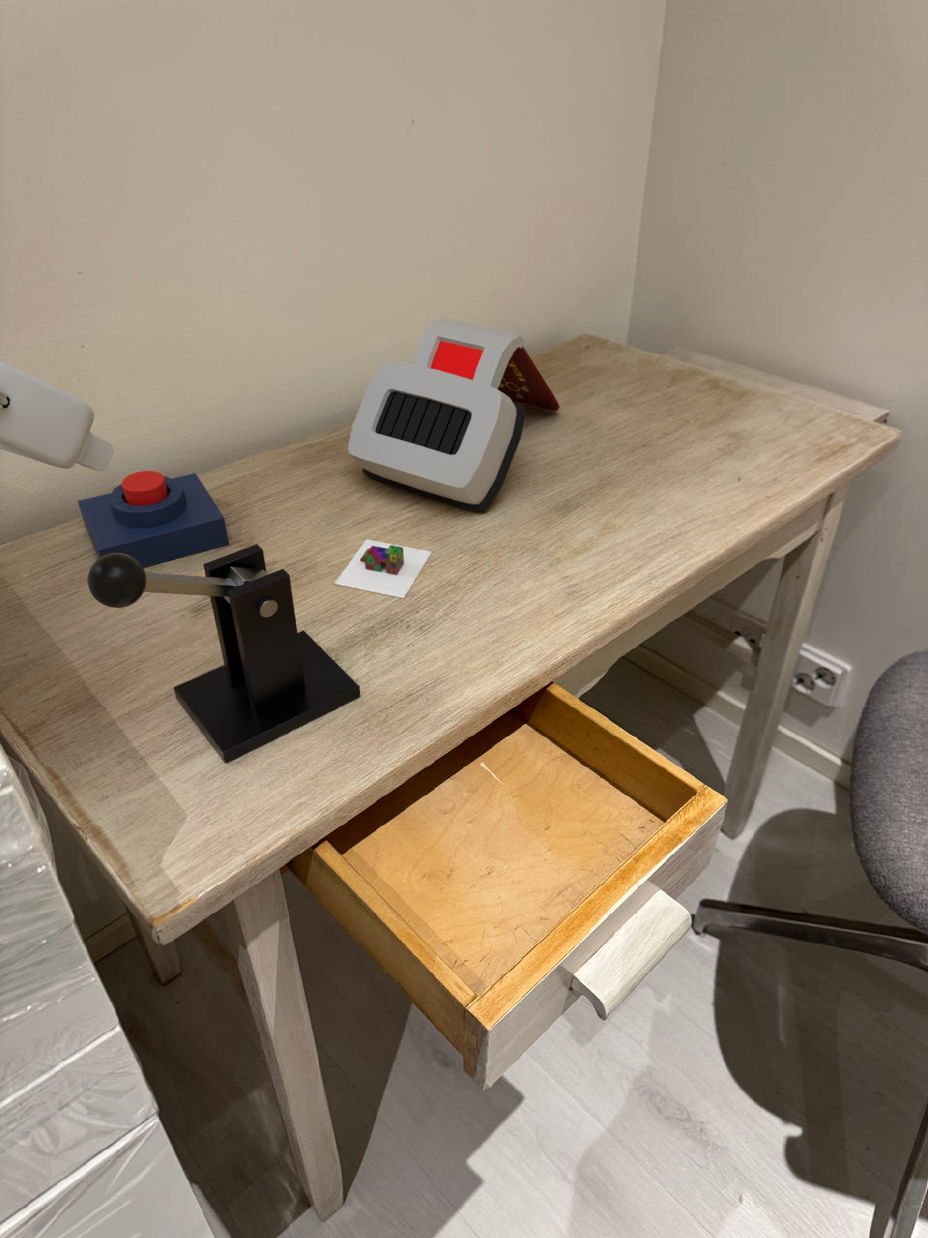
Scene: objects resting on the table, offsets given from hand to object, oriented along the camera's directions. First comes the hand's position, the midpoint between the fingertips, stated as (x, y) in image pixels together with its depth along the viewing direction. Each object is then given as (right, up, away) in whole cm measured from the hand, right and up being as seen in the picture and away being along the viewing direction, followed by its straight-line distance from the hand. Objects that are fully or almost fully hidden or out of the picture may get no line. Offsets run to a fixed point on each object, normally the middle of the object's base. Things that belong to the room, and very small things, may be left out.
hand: (55, 442), depth 55 cm
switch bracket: (+9, -17, +18) cm, 26 cm away
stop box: (-6, -2, +36) cm, 37 cm away
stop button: (-6, +1, +33) cm, 34 cm away
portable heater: (+26, +8, +50) cm, 57 cm away
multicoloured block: (+17, -6, +32) cm, 37 cm away
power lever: (+5, -10, +8) cm, 14 cm away
